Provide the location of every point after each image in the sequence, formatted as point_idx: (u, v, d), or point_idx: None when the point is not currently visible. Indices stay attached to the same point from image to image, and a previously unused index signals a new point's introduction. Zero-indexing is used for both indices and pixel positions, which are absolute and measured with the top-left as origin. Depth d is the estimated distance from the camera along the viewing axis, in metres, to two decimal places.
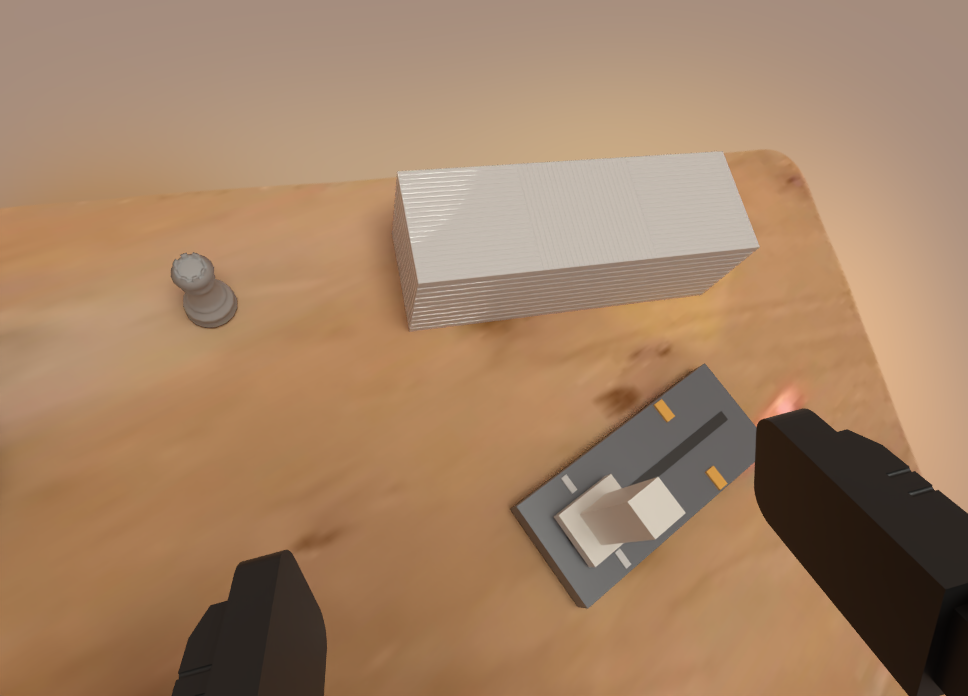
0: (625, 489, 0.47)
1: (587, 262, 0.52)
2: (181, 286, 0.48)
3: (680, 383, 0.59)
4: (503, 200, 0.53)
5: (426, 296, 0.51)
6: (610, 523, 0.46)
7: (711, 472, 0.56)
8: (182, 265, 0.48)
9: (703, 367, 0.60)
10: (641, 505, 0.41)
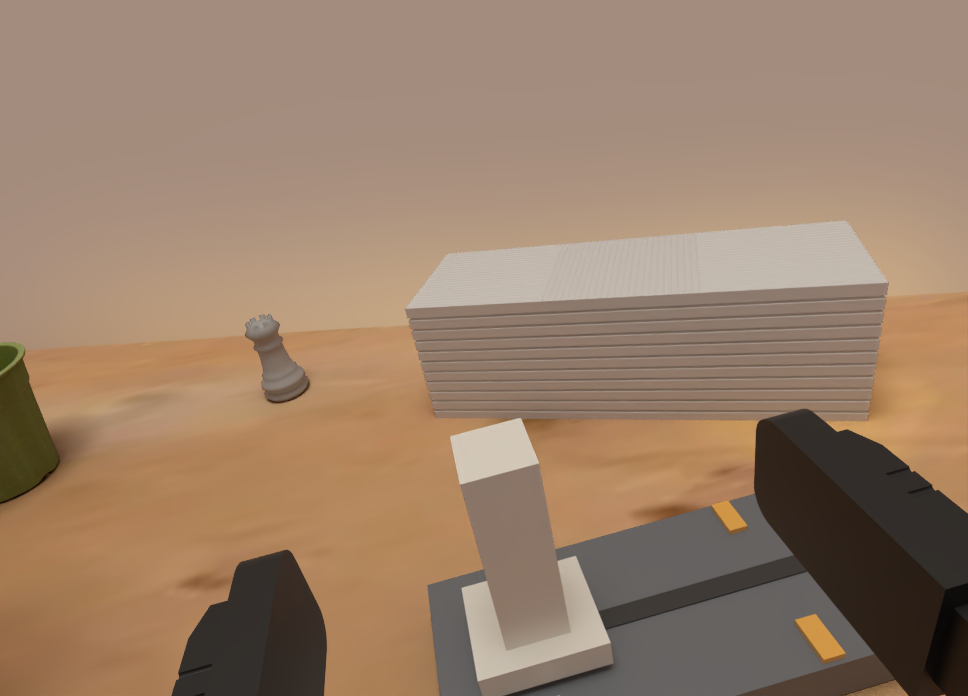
0: None
1: (598, 295, 0.42)
2: (246, 335, 0.56)
3: None
4: (532, 263, 0.49)
5: (424, 338, 0.47)
6: None
7: (806, 624, 0.27)
8: (256, 322, 0.57)
9: None
10: (468, 443, 0.24)
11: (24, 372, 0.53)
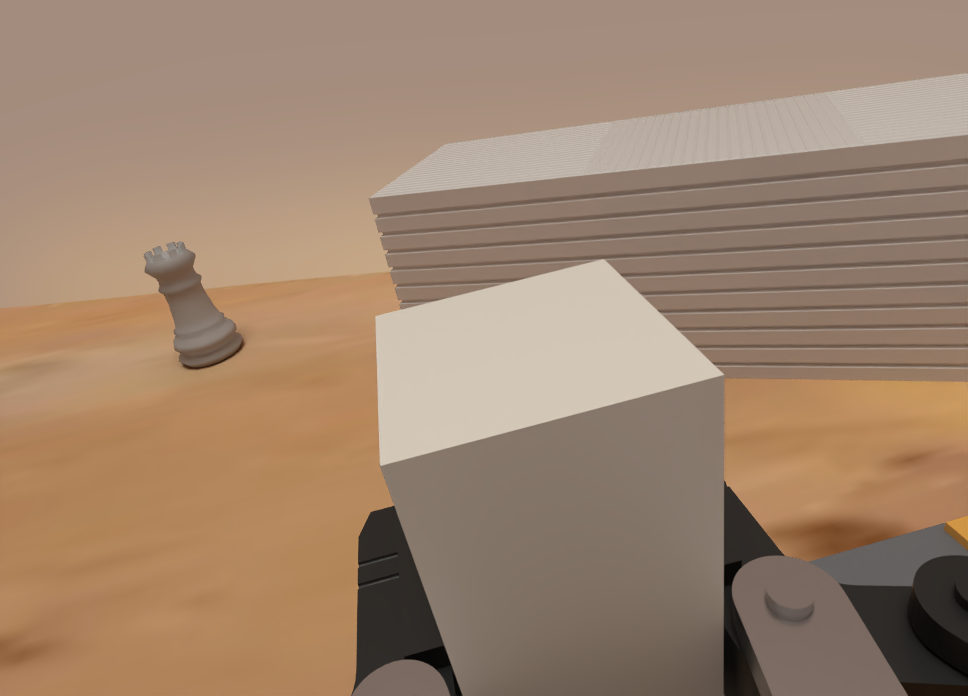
0: None
1: (678, 162, 0.25)
2: (145, 269, 0.39)
3: None
4: (568, 141, 0.33)
5: (399, 247, 0.31)
6: None
7: None
8: (162, 252, 0.40)
9: None
10: (432, 328, 0.07)
11: None
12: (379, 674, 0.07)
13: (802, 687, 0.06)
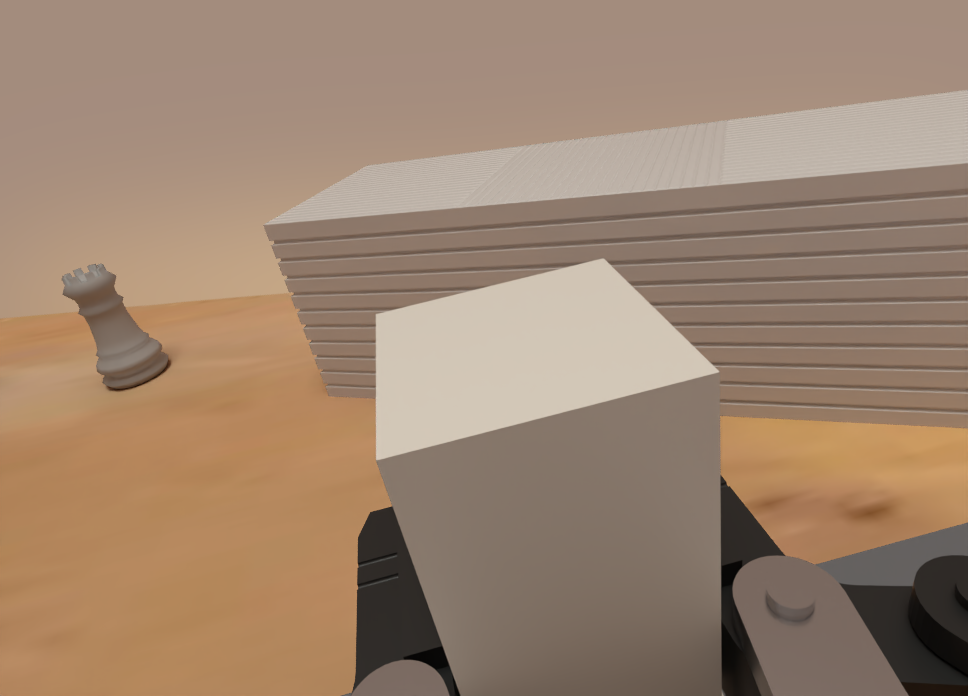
0: None
1: (546, 197, 0.25)
2: (63, 292, 0.39)
3: (881, 551, 0.17)
4: (471, 167, 0.32)
5: (296, 273, 0.31)
6: None
7: None
8: (82, 274, 0.40)
9: None
10: (432, 326, 0.07)
11: None
12: (378, 674, 0.07)
13: (803, 687, 0.06)
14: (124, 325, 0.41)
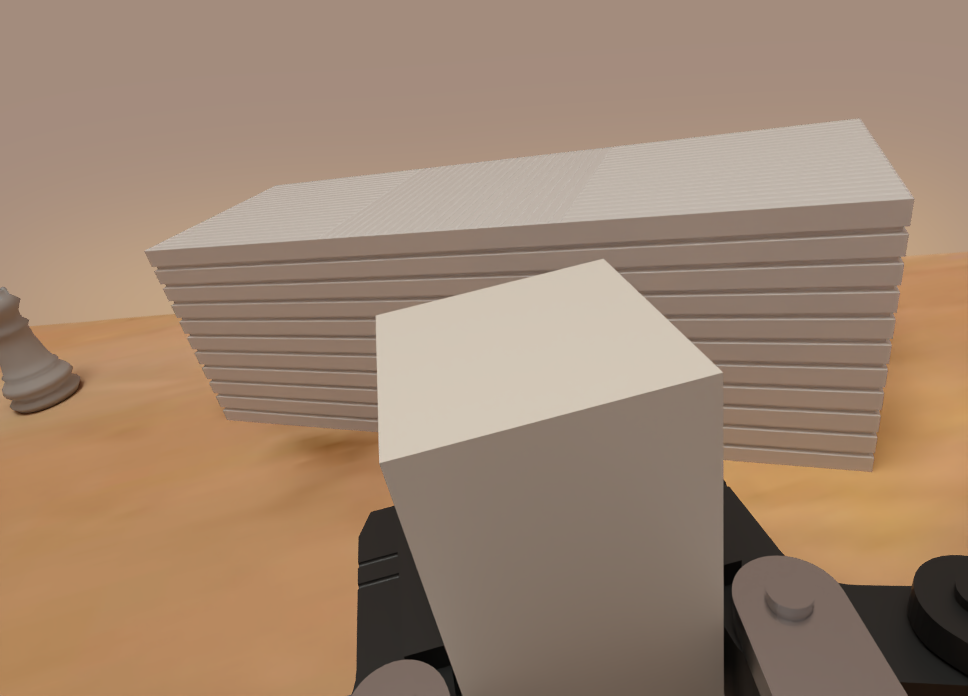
0: None
1: (403, 230, 0.25)
2: None
3: None
4: (361, 192, 0.32)
5: (181, 299, 0.31)
6: None
7: None
8: None
9: None
10: (432, 327, 0.07)
11: None
12: (379, 673, 0.07)
13: (802, 687, 0.06)
14: (29, 349, 0.40)
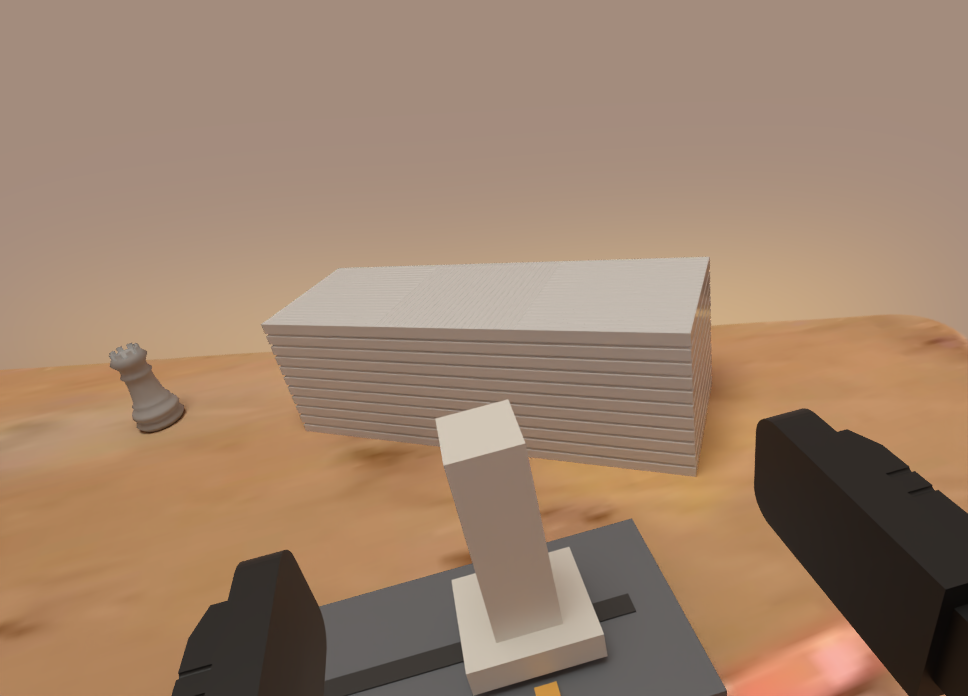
0: None
1: (424, 325, 0.41)
2: (110, 365, 0.55)
3: (569, 538, 0.33)
4: (398, 284, 0.49)
5: (282, 354, 0.48)
6: None
7: (543, 693, 0.26)
8: (123, 351, 0.56)
9: (626, 523, 0.33)
10: (453, 424, 0.23)
11: None
12: None
13: None
14: (153, 386, 0.57)
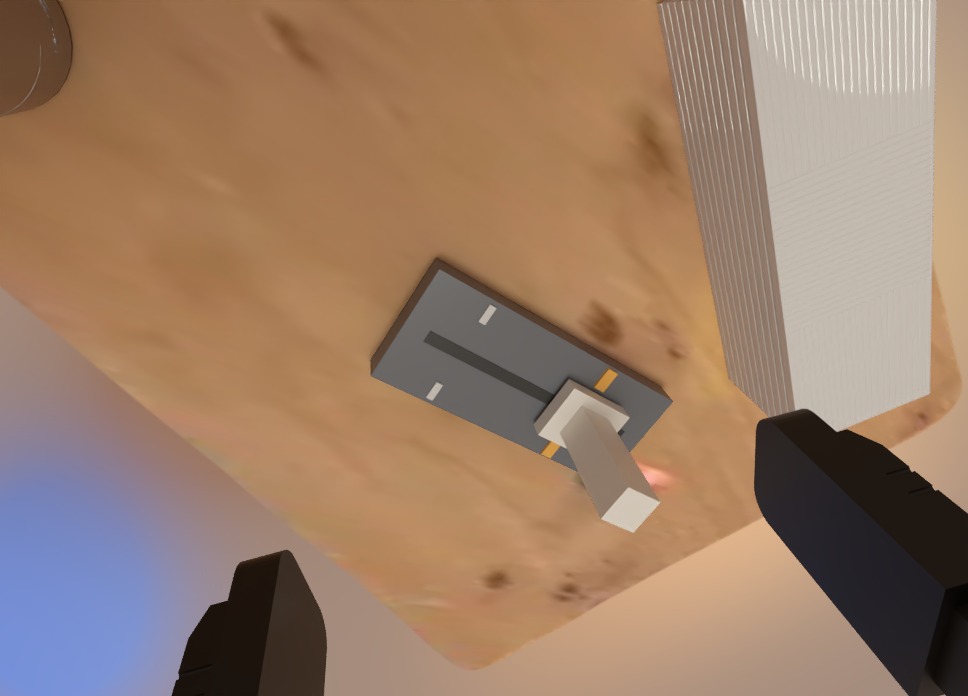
0: (628, 455, 0.45)
1: (779, 247, 0.38)
2: None
3: (642, 385, 0.51)
4: (875, 110, 0.35)
5: (718, 15, 0.34)
6: (591, 453, 0.45)
7: None
8: None
9: (667, 401, 0.53)
10: (628, 498, 0.40)
11: None
12: None
13: None
14: None
